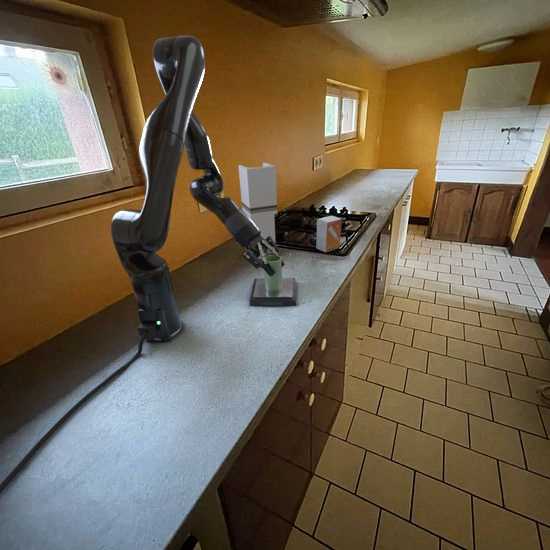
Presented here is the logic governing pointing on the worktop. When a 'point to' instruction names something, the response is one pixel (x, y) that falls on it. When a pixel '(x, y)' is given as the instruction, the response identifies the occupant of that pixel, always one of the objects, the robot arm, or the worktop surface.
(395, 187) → the worktop surface
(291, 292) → the scale
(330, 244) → the small box
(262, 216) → the tall white tower
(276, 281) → the cup
